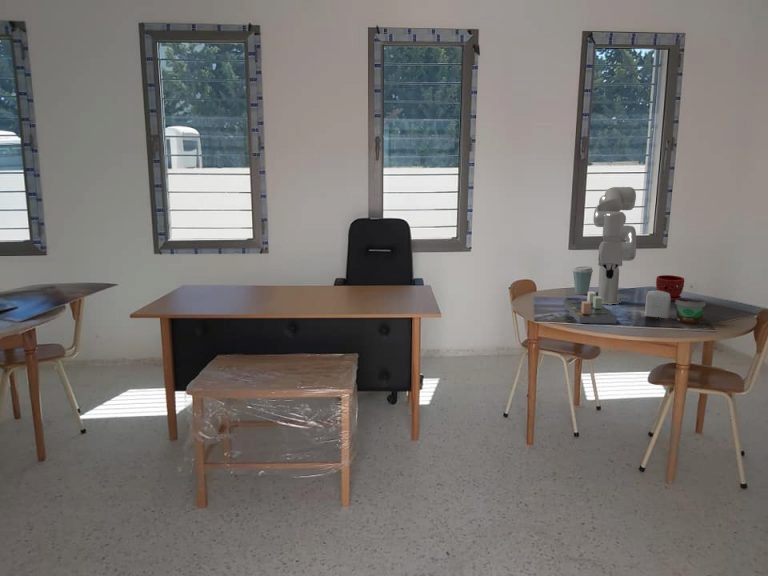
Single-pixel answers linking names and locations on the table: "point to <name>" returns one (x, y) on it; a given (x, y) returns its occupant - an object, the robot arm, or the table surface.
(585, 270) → the disposable coffee cup
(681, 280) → the plant pot
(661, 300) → the photo printer
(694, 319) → the food container
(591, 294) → the slider ivory
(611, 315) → the grey slotted slider board
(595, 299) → the slider sage
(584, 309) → the slider terracotta
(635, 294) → the table surface
